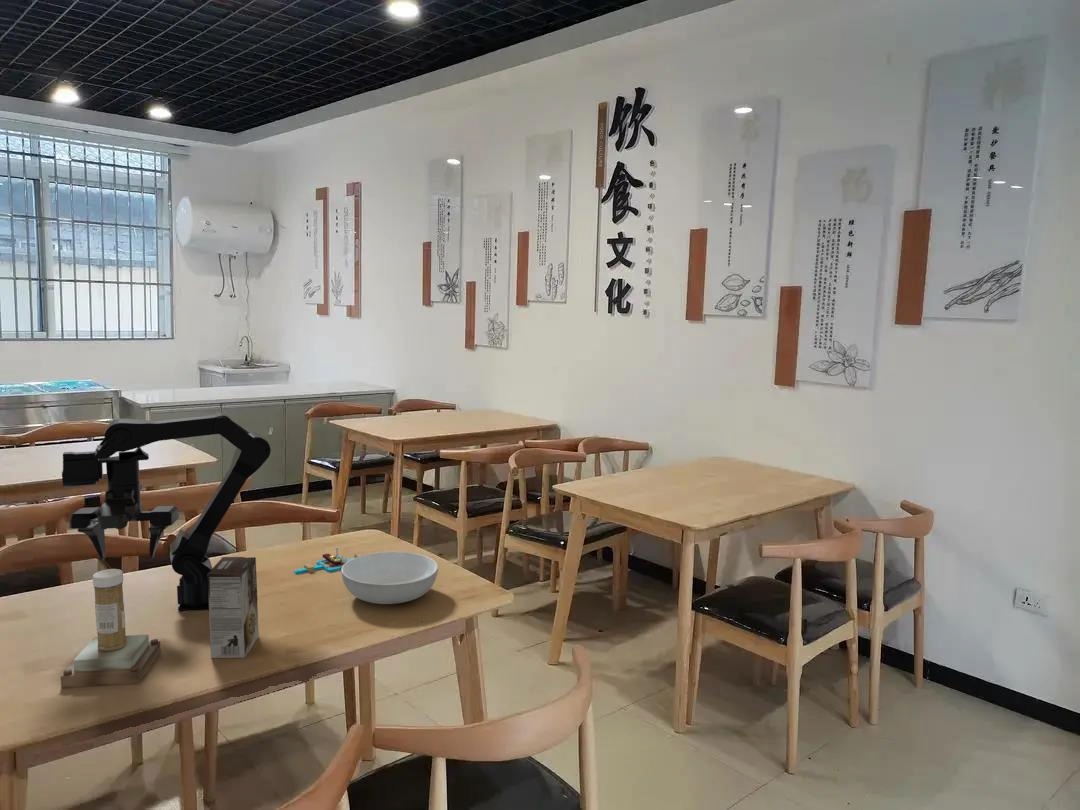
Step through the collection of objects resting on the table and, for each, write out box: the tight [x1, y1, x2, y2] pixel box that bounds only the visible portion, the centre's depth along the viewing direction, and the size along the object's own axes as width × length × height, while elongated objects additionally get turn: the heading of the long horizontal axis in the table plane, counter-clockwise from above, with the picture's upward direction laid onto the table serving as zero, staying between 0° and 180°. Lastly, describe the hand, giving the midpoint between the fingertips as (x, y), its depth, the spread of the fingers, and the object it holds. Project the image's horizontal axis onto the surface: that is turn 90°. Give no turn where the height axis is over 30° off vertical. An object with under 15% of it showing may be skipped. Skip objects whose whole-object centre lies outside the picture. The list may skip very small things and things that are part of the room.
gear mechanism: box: [293, 546, 364, 575], centre depth 189 cm, size 20×5×9 cm
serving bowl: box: [340, 551, 439, 605], centre depth 170 cm, size 21×21×7 cm
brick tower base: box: [59, 634, 162, 689], centre depth 135 cm, size 12×12×4 cm
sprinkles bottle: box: [92, 568, 127, 651], centre depth 134 cm, size 5×5×13 cm
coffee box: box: [207, 556, 260, 659], centre depth 143 cm, size 9×6×16 cm
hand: (127, 558), depth 156 cm, fingers open, 9 cm apart
